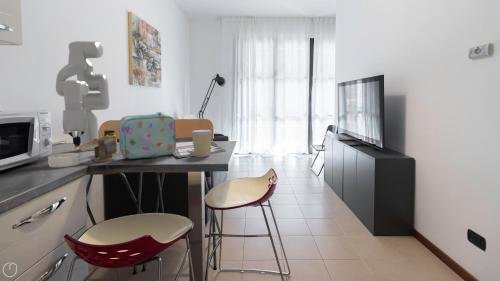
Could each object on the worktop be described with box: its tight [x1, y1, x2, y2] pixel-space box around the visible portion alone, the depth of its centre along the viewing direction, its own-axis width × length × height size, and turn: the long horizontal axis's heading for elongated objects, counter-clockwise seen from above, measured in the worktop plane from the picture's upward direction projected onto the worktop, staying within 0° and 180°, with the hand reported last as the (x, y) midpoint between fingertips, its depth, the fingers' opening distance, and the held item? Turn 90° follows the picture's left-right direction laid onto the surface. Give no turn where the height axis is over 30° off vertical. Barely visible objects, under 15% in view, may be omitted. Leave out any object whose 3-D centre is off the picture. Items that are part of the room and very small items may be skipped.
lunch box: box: [118, 111, 177, 160], centre depth 174 cm, size 27×10×21 cm, turn 126°
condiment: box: [103, 129, 121, 155], centre depth 189 cm, size 7×8×12 cm
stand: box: [90, 138, 115, 163], centre depth 169 cm, size 11×8×10 cm
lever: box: [71, 135, 118, 152], centre depth 171 cm, size 17×15×7 cm
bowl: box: [47, 152, 82, 169], centre depth 159 cm, size 12×12×4 cm
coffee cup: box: [191, 129, 212, 158], centre depth 174 cm, size 9×9×12 cm
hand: (77, 145), depth 172 cm, fingers closed
